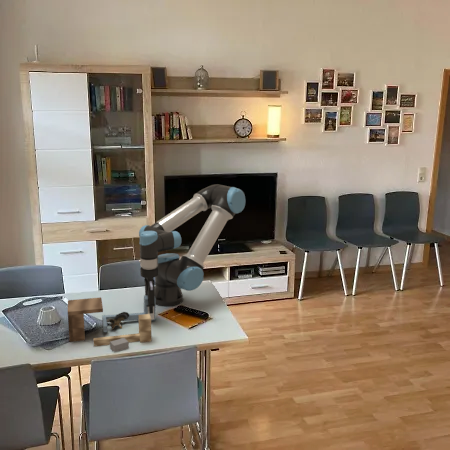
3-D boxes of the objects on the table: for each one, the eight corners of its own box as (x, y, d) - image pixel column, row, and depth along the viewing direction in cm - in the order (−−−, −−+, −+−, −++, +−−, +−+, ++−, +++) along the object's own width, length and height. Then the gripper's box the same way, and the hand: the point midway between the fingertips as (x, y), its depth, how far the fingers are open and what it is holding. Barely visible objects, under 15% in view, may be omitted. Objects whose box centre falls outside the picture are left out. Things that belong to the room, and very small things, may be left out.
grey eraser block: (124, 344, 198) (124, 337, 197) (128, 348, 195) (128, 341, 194) (110, 348, 194) (109, 341, 193) (114, 352, 191) (114, 345, 190)
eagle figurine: (124, 331, 206) (133, 319, 214) (115, 317, 205) (124, 305, 213) (110, 335, 209) (119, 323, 217) (101, 322, 208) (111, 310, 216)
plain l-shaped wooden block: (149, 336, 205) (149, 313, 202) (151, 341, 200) (151, 318, 198) (93, 342, 198) (92, 319, 196) (94, 347, 194) (92, 324, 192)
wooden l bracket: (102, 325, 213) (101, 297, 210) (104, 338, 202) (102, 308, 199) (69, 328, 209) (67, 300, 206) (69, 342, 198) (67, 311, 195)
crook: (153, 315, 222) (154, 294, 219) (158, 327, 210) (158, 305, 208) (102, 319, 215) (101, 298, 213) (103, 332, 204) (103, 309, 202)
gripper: (137, 261, 220) (139, 309, 226) (143, 274, 204) (144, 326, 210) (154, 260, 222) (155, 308, 228) (161, 272, 206) (161, 324, 212)
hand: (150, 316), depth 219 cm, fingers closed on crook, 4 cm apart
